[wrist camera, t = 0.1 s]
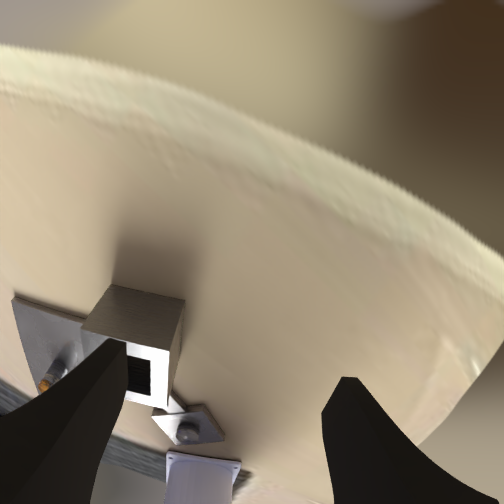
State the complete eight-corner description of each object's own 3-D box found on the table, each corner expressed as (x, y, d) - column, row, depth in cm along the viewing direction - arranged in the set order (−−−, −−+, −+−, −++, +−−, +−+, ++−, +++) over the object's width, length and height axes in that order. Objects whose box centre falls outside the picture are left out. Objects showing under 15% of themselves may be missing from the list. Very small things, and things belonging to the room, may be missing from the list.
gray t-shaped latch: (224, 434, 26) (223, 449, 25) (177, 439, 27) (175, 453, 25) (181, 368, 23) (177, 385, 21) (127, 376, 23) (121, 392, 22)
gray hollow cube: (179, 357, 22) (166, 409, 18) (113, 342, 22) (90, 389, 17) (185, 300, 20) (169, 351, 16) (110, 284, 20) (79, 328, 15)
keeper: (109, 417, 26) (99, 445, 23) (42, 394, 25) (29, 418, 22) (95, 321, 21) (76, 352, 18) (14, 296, 20) (-9, 320, 17)
